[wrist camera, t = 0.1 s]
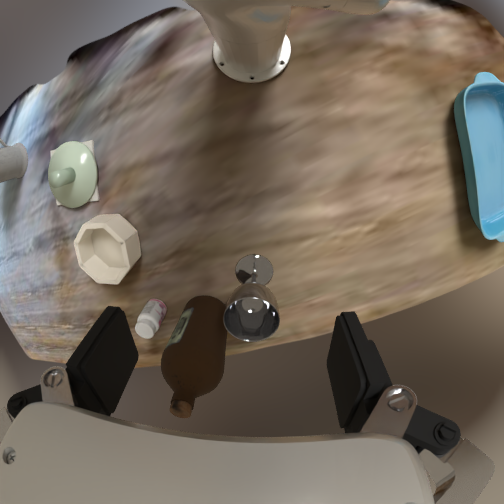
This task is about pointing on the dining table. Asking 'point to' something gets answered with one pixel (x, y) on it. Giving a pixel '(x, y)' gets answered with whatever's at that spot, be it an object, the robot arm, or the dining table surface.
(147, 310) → the pill bottle
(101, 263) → the bowl
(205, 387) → the olive oil
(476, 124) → the casserole dish
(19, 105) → the dining table surface
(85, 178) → the lid
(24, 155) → the glass holder
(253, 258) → the wine glass
